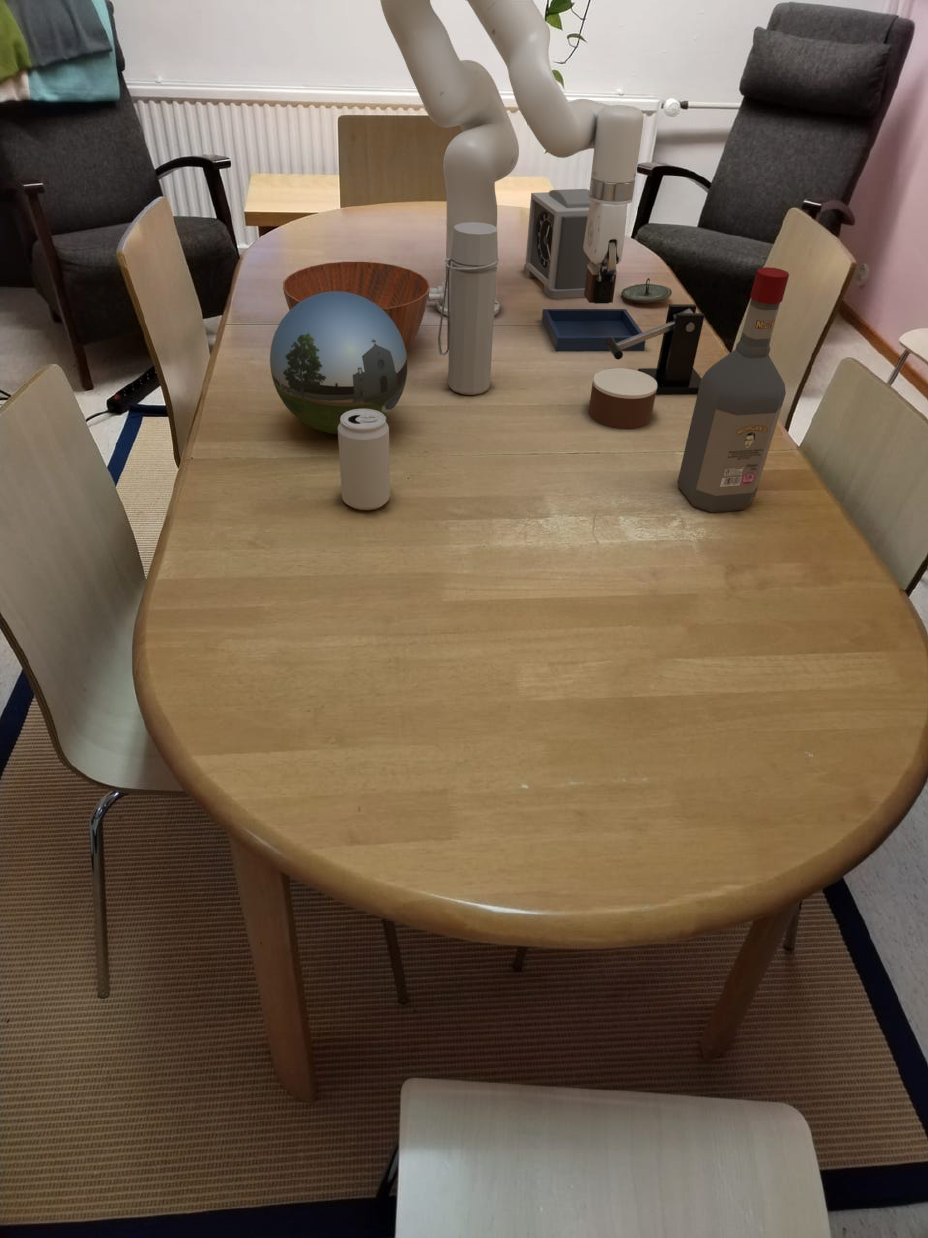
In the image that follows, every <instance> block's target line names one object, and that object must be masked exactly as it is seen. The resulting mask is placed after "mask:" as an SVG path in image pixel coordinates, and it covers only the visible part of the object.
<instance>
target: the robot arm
mask: <svg viewBox="0 0 928 1238" xmlns="http://www.w3.org/2000/svg"><path fill="white" fill-rule="evenodd" d="M466 1H467V3H468V5H469V6H470V7H471V9H472V11H473V13H474V14H475V16H476V18H477V20H478V21H479V23H480V25H482V28H483V30H484V31H485V32H486V34H487V36H488V37H489V39H490V40H491V43H492V44H493V46H494V47H495V49H496V51H497V52H498V54H499V55H500V57H501V59H502V60H503V62H504V65H505V66H506V68H507V73H508V79H509V81H510V82H509V83H510V86H511V89H512V92H513V93H512V94H513V97H514V99H515V102H516V105H517V107H518V109H519V112H520V114H521V115H522V118H523V119H524V121H525V122H526V124H527V126H528V127H529V130H531V132H532V133H533V135H534V137H535V138H536V140H537V142H538V143H539V145H541V147H542V148H543V149H544V150H545V151H546V152H547V153H548V154H550V155H552V156H553V157H554V158H555V157H556V158H559V159H565V158H569V157H572V156H574V155H576V154H578V153H581V152H584V151H587V150H590V149H591V150H592V149H593V155H592V156H593V157H592V163H591V174H590V182H589V189H588V190H589V199H590V200H591V202H590V207H589V212H588V218H587V225H586V231H585V238H584V245H583V249H584V252H585V253H586V255H587V256H588V257H589V259H590V264H595V265H597V264H598V274H597V280H595V285H594V294H593V303H592V304H595V305H596V304H597V305H598V304H600V305H602V304H605V305H607V304H611V303H610V301H611V293H612V286H613V280H614V274H615V272H616V271H617V265H618V264H620V262H621V261H622V257H623V251H624V245H625V235H626V225H627V217H628V216H627V213H628V212H627V211H628V205H629V204H631V203H632V202H633V200H634V199H633V198H634V191H635V185H636V177H637V169H638V165H639V164H638V162H639V156H640V150H641V143H642V136H643V135H642V134H643V128H644V113H643V111H642V109H640V108H638V107H635V106H631V105H625V104H624V105H623V104H613V105H609V104H607V103H602V102H598V101H595V100H593V99H587V98H577V99H573V100H571V101H569V100H568V98H567V97H566V94H564V91H563V90H562V89H561V87H560V85H559V82H558V81H557V79H556V76H555V74H554V72H553V69H552V66H551V63H550V56H549V51H550V50H549V49H550V42H551V30H550V27H549V25H548V23H547V21H546V19H545V18H544V17H543V15H542V12H541V11H540V9H539V8H538V6H537V4H536V3H535V2H534V0H466ZM380 6H381V9H382V13H383V17H384V19H385V21H386V23H387V26H388V28H389V31H390V33H391V34H392V36H393V39H394V40H395V43H396V45H397V47H398V49H399V51H400V53H401V55H402V57H403V60H404V63H405V66H406V68H407V71H408V72H409V75H410V77H411V79H412V82H413V84H414V86H415V88H416V91H417V93H418V96H419V97H420V100H421V102H422V105H423V106H424V109H425V111H426V113H427V115H428V117H429V119H430V120H431V122H433V123H434V124H435V125H436V126H438V127H439V128H446V129H448V128H454V127H458V126H459V127H460V130H461V132H460V133H458V134H457V135H456V136H454V137H453V139H451V141H450V142H449V144H448V145H447V147H446V149H445V153H444V155H443V162H442V163H443V164H442V165H443V167H442V170H443V179H444V186H445V198H446V222H445V223H446V236H445V260H446V259H451V252H452V243H453V235H454V228H455V225H457V224H460V223H467V222H479V223H486V224H490V225H493V226H495V227H496V228H497V229H498V201H497V196H496V195H497V194H496V182H498V181H500V180H502V179H504V178H506V177H507V176H509V175H510V174H511V173H512V172H513V171H514V169H515V168H516V166H517V164H518V161H519V156H520V146H519V141H518V137H517V134H516V131H515V129H514V125H513V124H512V121H511V119H510V117H509V113H508V111H507V109H506V107H505V104H504V101H503V99H502V97H501V94H500V91H499V89H498V87H497V84H496V82H495V80H494V79H493V77H492V75H491V73H490V72H489V71H488V70H487V69H486V68H485V66H483V65H482V64H481V63H480V62H477V61H475V60H472V59H471V60H470V59H463V60H461V59H460V58H459V56H458V54H457V52H456V50H455V48H454V45H453V43H452V40H451V37H450V35H449V32H448V30H447V27H445V25H444V23H443V22H442V20H441V18H440V17H439V16H438V14H437V13H436V11H435V10H434V8H433V6H432V3H431V0H380ZM606 260H607V262H606ZM451 266H452V263H451ZM604 266H607V267H606V269H604V270H603V272H602V267H604ZM446 274H447V270H446V269H445V277H444V279H445V280H444V281H442V282H441V285H438V286H437V287H431V286H430V290H429V296H428V302H436V301H437V302H436V309H437V311H438V312H439V313H440V314H441V312H442V304H443V297H444V289H445V282H446ZM447 292H448V281H447V288H446V296H445V304H444V312H443V316H446V317H447ZM449 292H450V295H451V269H450V270H449ZM500 311H501V304H500V302H499V301H498V300H497V299H495V309H494V317H495V316H497V315H498V314H499V313H500Z"/></svg>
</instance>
